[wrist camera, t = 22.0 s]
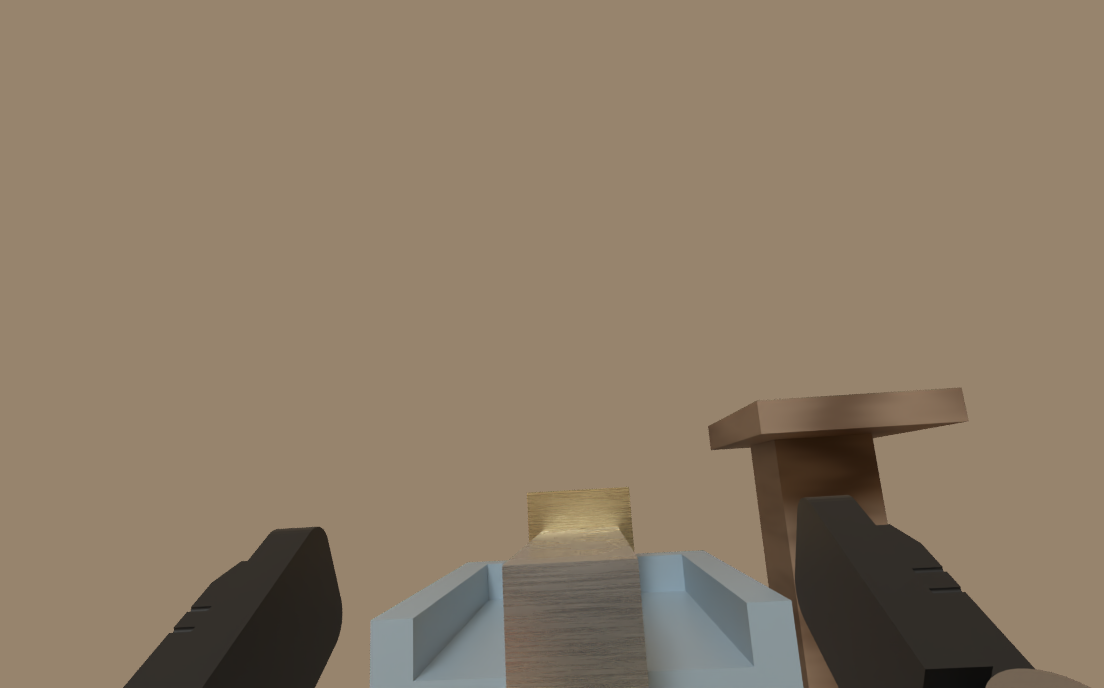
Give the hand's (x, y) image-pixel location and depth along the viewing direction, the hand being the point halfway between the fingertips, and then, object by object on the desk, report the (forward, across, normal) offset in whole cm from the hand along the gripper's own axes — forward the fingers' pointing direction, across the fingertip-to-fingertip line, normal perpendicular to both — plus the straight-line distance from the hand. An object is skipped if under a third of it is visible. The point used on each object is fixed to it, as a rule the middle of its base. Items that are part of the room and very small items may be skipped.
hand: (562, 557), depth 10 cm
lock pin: (+12, 0, -13) cm, 18 cm away
